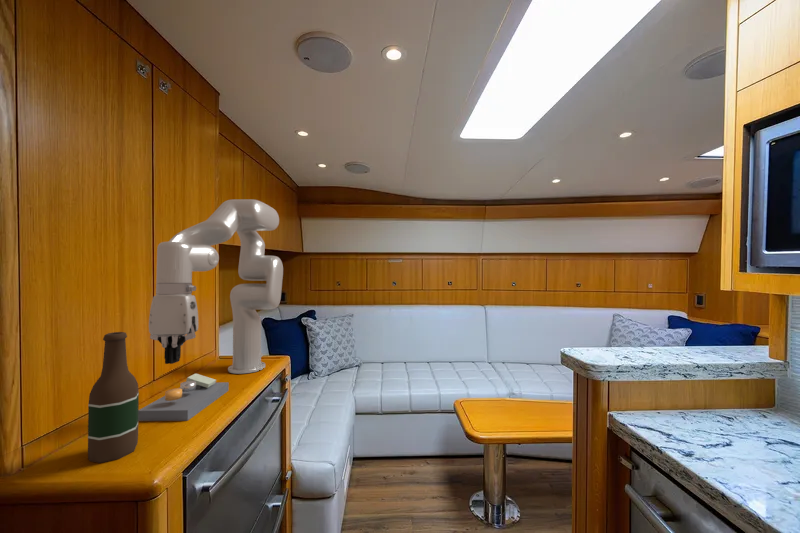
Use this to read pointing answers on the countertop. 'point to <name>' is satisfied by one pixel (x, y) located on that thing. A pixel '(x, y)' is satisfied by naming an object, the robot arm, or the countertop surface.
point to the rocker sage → (201, 380)
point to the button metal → (188, 386)
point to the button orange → (173, 394)
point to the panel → (183, 404)
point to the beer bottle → (113, 405)
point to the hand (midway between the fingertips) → (172, 362)
